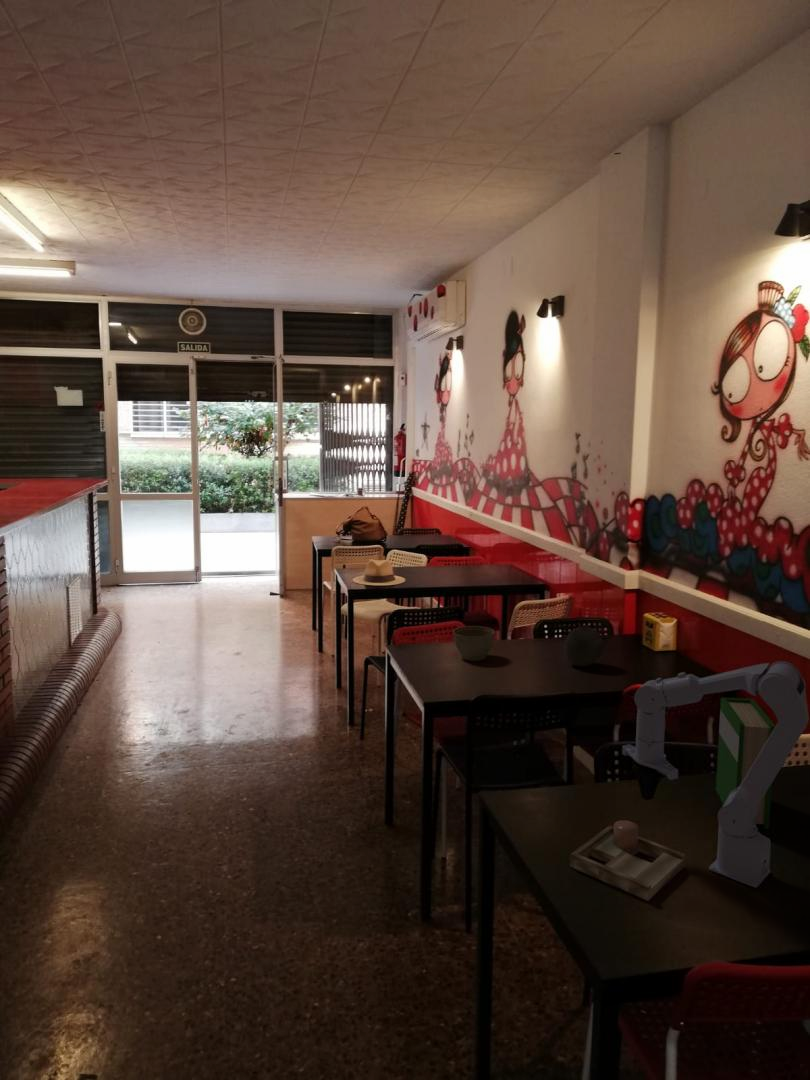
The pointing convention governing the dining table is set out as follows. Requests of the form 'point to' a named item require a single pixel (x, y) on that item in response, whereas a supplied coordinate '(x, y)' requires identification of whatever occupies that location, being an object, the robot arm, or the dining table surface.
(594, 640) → the cantaloupe
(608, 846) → the wooden frame
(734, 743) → the hardback book
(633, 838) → the brown rounded lump
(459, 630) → the planter bowl
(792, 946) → the dining table surface
